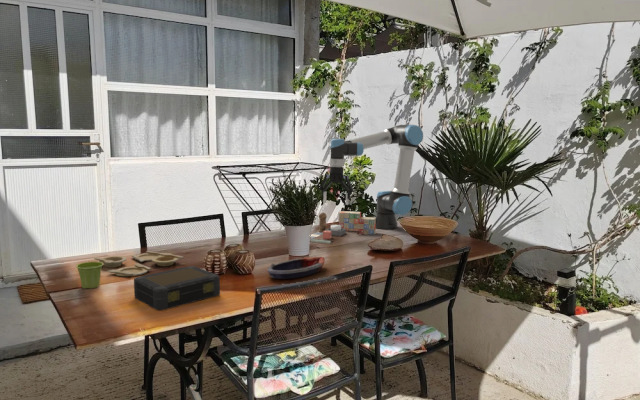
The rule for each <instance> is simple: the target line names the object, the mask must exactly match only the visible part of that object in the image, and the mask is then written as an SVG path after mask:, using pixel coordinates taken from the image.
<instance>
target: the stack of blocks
mask: <svg viewBox="0 0 640 400" xmlns="http://www.w3.org/2000/svg"><path fill="white" fill-rule="evenodd" d="M338 225H341V228H344V229H346V232H348V231H349V232H351V231H352V232H357V234H358V235H370V234H372V235H371V236H373V235H375V234H376V233H377V232H376V229H377V228H376V217H370V216H369V217H367V216H366V217H365V216H362V211H345V210H341V211H340V212H339V213H338ZM357 234H356V235H357Z"/></svg>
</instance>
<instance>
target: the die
mask: <svg viewBox="0 0 640 400" xmlns="http://www.w3.org/2000/svg"><path fill="white" fill-rule="evenodd" d="M331 239H332V231H324V232H323V234H322V240H331Z"/></svg>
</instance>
